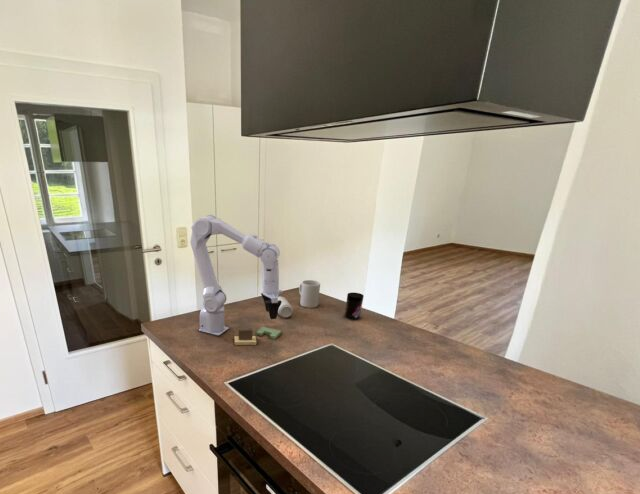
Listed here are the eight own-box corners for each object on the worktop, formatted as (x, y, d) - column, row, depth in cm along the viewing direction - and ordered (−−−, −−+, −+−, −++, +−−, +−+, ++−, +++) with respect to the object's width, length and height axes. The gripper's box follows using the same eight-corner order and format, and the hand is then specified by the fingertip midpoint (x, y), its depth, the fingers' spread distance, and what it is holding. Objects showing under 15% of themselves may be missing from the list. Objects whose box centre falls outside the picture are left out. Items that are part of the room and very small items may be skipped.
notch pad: (256, 334, 140) (256, 332, 140) (262, 329, 145) (262, 326, 145) (275, 339, 137) (275, 336, 137) (281, 333, 142) (281, 330, 141)
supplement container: (349, 320, 155) (352, 298, 151) (341, 314, 161) (344, 293, 157) (363, 319, 157) (366, 297, 152) (354, 313, 162) (358, 292, 158)
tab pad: (234, 344, 132) (234, 332, 130) (234, 335, 139) (234, 323, 137) (256, 344, 133) (256, 332, 131) (254, 335, 140) (255, 323, 137)
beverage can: (277, 317, 155) (270, 306, 166) (290, 320, 156) (283, 309, 167) (281, 303, 153) (275, 294, 163) (295, 306, 154) (287, 297, 165)
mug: (321, 306, 171) (324, 283, 166) (307, 309, 167) (310, 286, 162) (305, 298, 180) (307, 277, 176) (291, 301, 176) (293, 279, 172)
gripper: (286, 284, 122) (286, 321, 128) (277, 273, 136) (277, 307, 141) (266, 286, 122) (266, 322, 127) (258, 275, 135) (259, 308, 140)
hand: (271, 314), depth 134 cm, fingers open, 7 cm apart
